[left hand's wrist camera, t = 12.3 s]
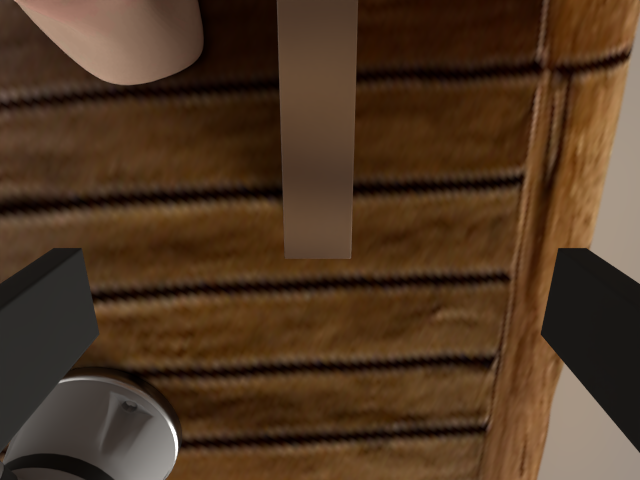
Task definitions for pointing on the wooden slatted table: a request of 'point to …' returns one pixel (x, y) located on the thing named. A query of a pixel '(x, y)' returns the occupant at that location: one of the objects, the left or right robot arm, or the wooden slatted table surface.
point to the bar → (317, 124)
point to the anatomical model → (123, 35)
